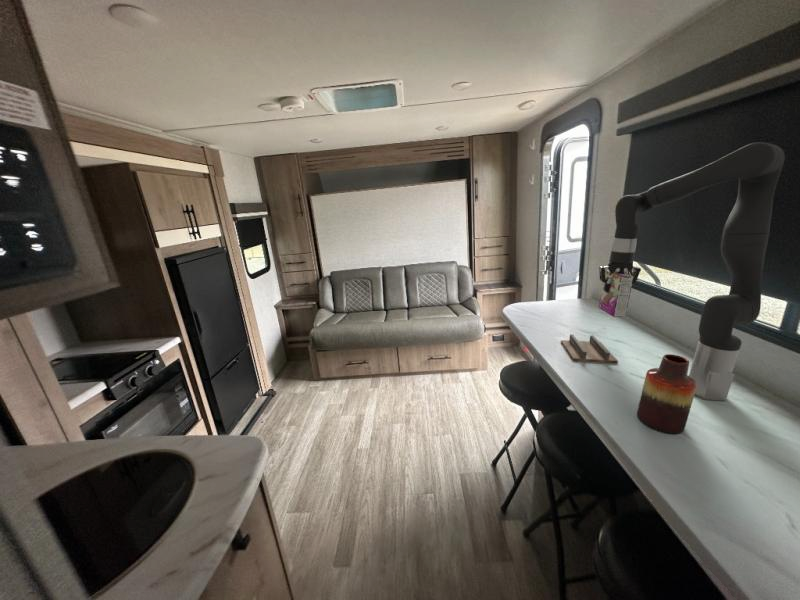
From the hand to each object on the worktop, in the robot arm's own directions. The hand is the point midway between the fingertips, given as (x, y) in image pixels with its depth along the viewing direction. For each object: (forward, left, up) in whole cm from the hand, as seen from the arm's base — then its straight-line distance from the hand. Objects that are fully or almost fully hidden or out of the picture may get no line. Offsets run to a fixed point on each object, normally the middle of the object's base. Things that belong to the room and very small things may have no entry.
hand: (615, 292), depth 126 cm
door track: (-3, +7, -26) cm, 27 cm away
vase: (-46, +2, -26) cm, 52 cm away
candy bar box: (0, 0, -9) cm, 9 cm away
